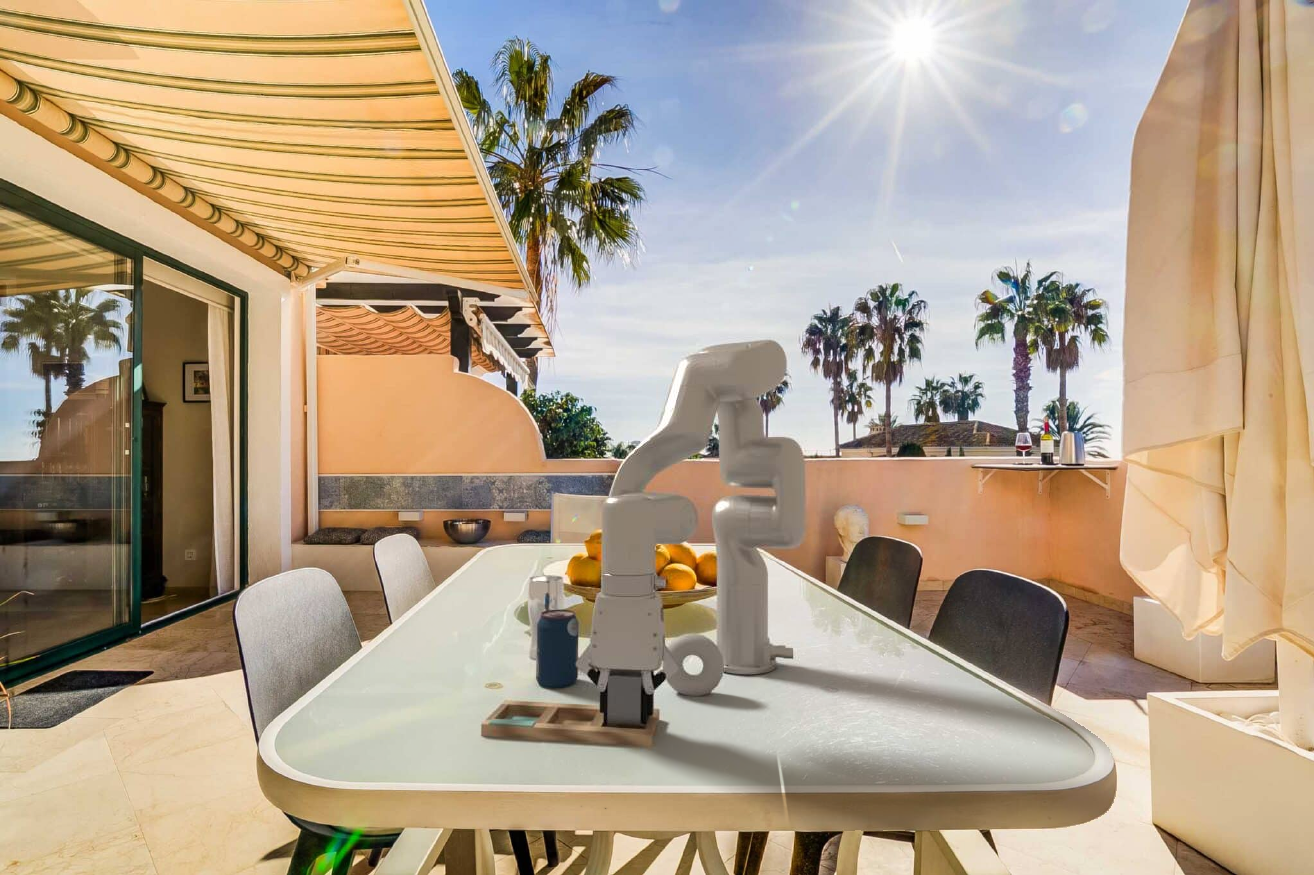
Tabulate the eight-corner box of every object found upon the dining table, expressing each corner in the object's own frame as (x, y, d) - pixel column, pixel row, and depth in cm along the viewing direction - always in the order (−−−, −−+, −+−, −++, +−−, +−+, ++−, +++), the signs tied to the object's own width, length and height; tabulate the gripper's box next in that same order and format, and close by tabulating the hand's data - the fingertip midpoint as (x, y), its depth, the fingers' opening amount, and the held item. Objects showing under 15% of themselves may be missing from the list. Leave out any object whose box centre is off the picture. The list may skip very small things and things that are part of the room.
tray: (659, 722, 92) (659, 707, 92) (650, 750, 83) (651, 732, 83) (505, 713, 95) (505, 698, 95) (480, 739, 86) (481, 722, 86)
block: (645, 724, 90) (645, 666, 90) (640, 738, 85) (640, 677, 86) (613, 723, 90) (614, 665, 91) (607, 736, 86) (607, 675, 86)
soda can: (586, 685, 108) (587, 612, 108) (553, 695, 102) (554, 619, 103) (560, 675, 112) (561, 606, 113) (527, 685, 107) (528, 612, 108)
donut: (660, 698, 102) (661, 634, 102) (663, 691, 105) (663, 629, 105) (723, 702, 100) (723, 637, 101) (724, 694, 104) (724, 632, 104)
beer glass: (559, 661, 121) (561, 581, 121) (522, 660, 121) (524, 580, 121) (565, 651, 128) (566, 575, 128) (530, 650, 128) (532, 574, 128)
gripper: (690, 582, 91) (690, 712, 90) (575, 578, 93) (573, 705, 93) (686, 592, 84) (685, 734, 83) (561, 588, 86) (559, 726, 85)
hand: (626, 717), depth 88 cm, fingers closed on block, 4 cm apart
